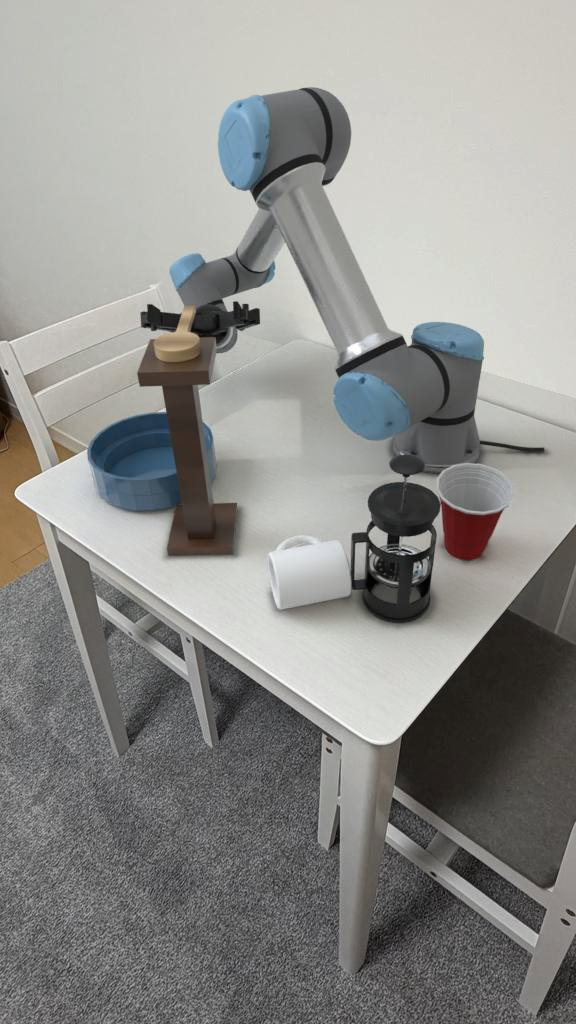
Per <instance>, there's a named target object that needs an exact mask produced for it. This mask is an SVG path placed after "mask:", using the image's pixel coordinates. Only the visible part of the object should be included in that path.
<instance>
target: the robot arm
mask: <svg viewBox="0 0 576 1024" xmlns="http://www.w3.org/2000/svg"><path fill="white" fill-rule="evenodd" d="M217 137H218V140H217V151H218V153H217V154H218V159H219V163H220V167H221V170H222V173H223V175H224V177H225V179H226V181H227V182H228V183H229V185H231V186H232V187H233V188H235V189H237V190H238V191H242V192H247V191H249V192H250V194H251V196H252V198H253V200H254V203H255V204H256V207H257V208H258V209H257V211H256V213H255V214H254V217H253V219H252V220H251V222H250V223H249V226H248V228H247V229H246V231H245V233H244V235H243V237H242V239H241V240H240V242H239V244H238V246H237V247H236V249H235V251H234V253H232V254H231V255H228V256H225V257H221V258H218V259H214V260H211V261H207V262H206V260H205V259H204V257H203V255H202V254H200V253H197V252H196V253H195V252H194V253H189V254H187V255H184V256H181V257H180V258H179V259H177V260H176V261H174V262H173V263H172V264H171V265H170V266H169V270H168V271H169V276H170V279H171V280H172V281H171V282H172V284H173V286H174V290H175V291H176V293H177V295H178V296H179V298H180V300H181V303H182V304H183V307H184V306H195V309H196V313H195V316H194V320H193V323H192V327H191V330H190V332H191V333H194V334H196V335H197V336H198V337H199V338H202V337H215V338H216V347H217V352H216V354H224V353H228V352H230V351H231V350H232V349H233V348H234V347H235V345H236V344H237V341H238V336H239V335H238V332H243V331H245V330H246V329H249V328H252V327H255V326H259V325H261V309H260V308H258V307H254V308H252V309H250V304H249V303H241V304H240V302H239V301H238V300H237V301H235V300H234V301H232V309H233V310H230V311H228V308H227V306H226V304H225V302H224V299H226V298H228V297H231V296H234V295H237V294H241V293H244V292H247V291H250V290H252V289H257V288H260V287H262V286H264V285H265V284H269V283H270V282H272V280H273V279H274V277H275V275H276V273H275V270H276V262H275V259H276V258H277V256H278V255H279V253H280V251H281V250H282V248H283V247H284V245H285V244H286V247H287V249H288V251H289V253H290V255H291V257H292V260H293V262H294V263H295V266H296V269H297V270H298V273H299V274H300V276H301V279H302V281H303V283H304V285H305V287H306V289H307V291H308V293H309V295H310V298H311V299H312V302H313V304H314V307H315V308H316V310H317V313H318V315H319V316H320V319H321V321H322V323H323V325H324V327H325V330H326V332H327V334H328V335H329V338H330V340H331V342H332V344H333V347H334V348H335V350H336V352H337V359H336V362H335V365H334V371H335V373H336V375H337V378H338V379H337V381H336V382H335V384H334V387H333V392H332V393H333V395H334V397H333V403H334V407H335V410H336V412H337V415H339V418H340V419H341V421H342V422H343V423H344V424H345V426H346V427H347V428H348V429H349V430H350V431H352V432H353V433H354V434H356V435H357V436H360V437H361V438H363V439H365V440H367V441H368V440H369V441H373V442H374V441H375V442H380V441H385V440H387V439H389V438H392V437H393V446H392V447H393V448H392V449H393V453H394V456H395V457H396V456H399V455H413V456H416V457H419V458H420V459H422V460H423V461H424V463H425V468H424V470H423V471H422V472H424V473H429V474H430V473H431V474H441V472H442V471H443V470H445V469H447V468H449V467H451V466H453V465H457V464H463V463H474V464H476V462H477V460H478V459H479V456H480V449H481V446H488V447H489V446H490V447H495V448H503V449H508V450H513V451H519V452H531V453H532V452H535V453H536V452H537V453H541V452H545V447H529V446H528V447H526V446H520V445H519V446H518V445H513V444H508V443H503V442H502V443H501V442H495V441H489V440H488V441H487V440H480V436H479V432H478V427H477V423H476V418H475V411H476V405H477V399H478V392H479V387H480V381H481V375H482V374H481V373H482V367H483V362H484V360H485V356H484V352H485V351H484V349H485V340H484V338H483V336H482V335H481V334H480V333H479V332H478V331H477V330H475V329H473V328H470V327H468V326H466V325H463V324H458V323H453V322H445V321H428V322H423V323H420V324H418V325H415V327H414V328H413V330H412V334H411V335H410V339H411V343H410V345H408V344H407V342H406V339H405V337H404V335H403V334H402V333H400V332H397V331H394V330H392V329H390V328H389V327H388V325H387V323H386V321H385V318H384V316H383V314H382V312H381V310H380V307H379V305H378V303H377V301H376V299H375V297H374V294H373V292H372V290H371V288H370V286H369V284H368V282H367V280H366V278H365V275H364V273H363V271H362V269H361V267H360V264H359V262H358V260H357V258H356V256H355V254H354V251H353V249H352V246H351V245H350V243H349V240H348V239H347V237H346V235H345V232H344V230H343V228H342V225H341V223H340V221H339V219H338V217H337V215H336V213H335V210H334V208H333V206H332V204H331V202H330V200H329V197H328V195H327V193H326V191H325V188H324V187H326V186H328V185H330V184H331V183H332V182H333V181H334V179H335V178H336V176H337V175H338V173H339V172H340V170H341V169H342V167H343V165H344V163H345V161H346V159H347V157H348V154H349V151H350V148H351V142H352V127H351V120H350V116H349V114H348V112H347V109H346V108H345V106H344V104H343V103H342V102H341V101H340V100H339V98H338V97H337V96H335V95H334V94H333V93H332V92H330V91H328V90H326V89H323V88H320V87H313V86H307V87H302V88H299V89H292V90H286V91H280V92H274V93H269V94H262V95H260V94H252V95H251V96H249V97H246V98H241V99H238V100H235V101H233V102H232V103H231V104H230V105H229V106H228V107H227V108H226V110H225V111H224V113H223V115H222V117H221V119H220V123H219V127H218V136H217ZM146 309H147V311H145V310H144V311H140V315H139V316H140V327H141V328H142V329H150V331H151V332H156V331H163V332H165V331H166V332H168V333H171V332H176V330H177V327H178V324H179V321H180V318H181V315H182V312H180V313H174V312H167V311H161V309H160V308H158V307H157V306H155V305H154V304H153V303H147V304H146Z"/></svg>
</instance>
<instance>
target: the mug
mask: <svg viewBox="0 0 576 1024" xmlns="http://www.w3.org/2000/svg"><path fill="white" fill-rule="evenodd" d="M303 544H306V545H303ZM307 544H308V545H307ZM298 545H301V546H298ZM293 546H295V547H293ZM344 547H345V546H344V545H343V543H342V542H341V541H340V540H338V539H334V540H328V541H323V540H321V539H320V538H318V537H316V536H314V535H310V534H298V535H293V536H291V537H289V538H287V539H284V541H282V542H281V543H279V545H278V546H277V547H276V548H275V550H274V551H269V552H268V554H267V569H268V577H269V582H270V587H271V592H272V597H273V599H274V602H275V606H276V608H277V609H278V610H279V611H282V610H287V609H291V608H296V607H303V606H307V605H311V604H317V603H321V602H322V603H323V602H326V601H327V602H328V601H331V600H337V599H343V598H347V597H349V596H350V595H351V593H352V587H351V573H350V570H351V566H350V563H349V559H348V556H347V553H346V550H345V548H344Z"/></svg>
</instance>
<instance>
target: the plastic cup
mask: <svg viewBox="0 0 576 1024" xmlns="http://www.w3.org/2000/svg"><path fill="white" fill-rule="evenodd" d="M435 481H436V482H435V491H436V492H437V494H438V496H439V497H438V498H439V500H440V505H441V506H440V509H441V520H442V532H443V539H444V546H445V550H446V551H447V553H448V555H450V556H451V557H453V558H455V559H458V560H461V561H473V560H477V559H479V558H481V557H482V555H483V554H484V552H485V550H486V549H487V547H488V544H489V542H490V539H491V538H492V536H493V535H494V531H495V530H496V527H497V525H498V523H499V520H500V517H501V515H502V514H503V512H504V511H505V509H507V508H508V507H509V506H510V504H511V503H512V501H513V499H514V497H516V495H515V486H514V484H513V482H512V480H511V479H510V478H509V476H507V475H506V474H505V473H503V472H501V471H500V470H499V469H497V468H494V467H492V466H489V465H486V464H483V463H463V464H457V465H453V466H451V467H449V468H447V469H445V470H443V471H442V472H441V473H439V474H438V476H437V478H436V480H435Z"/></svg>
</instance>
